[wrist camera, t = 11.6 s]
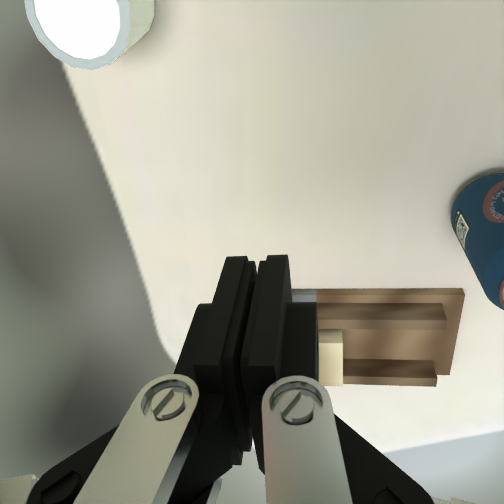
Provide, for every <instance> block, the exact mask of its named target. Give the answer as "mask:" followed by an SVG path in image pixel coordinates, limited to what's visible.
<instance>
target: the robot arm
mask: <svg viewBox="0 0 504 504" xmlns="http://www.w3.org/2000/svg"><path fill="white" fill-rule="evenodd" d="M252 439H253V440H254V445H255V450H256V454H257V460H258V465H259V469H260V470H261V471H262V472H263V474H264V475H265V482H266V502H267V504H475V503H471V502H468V501H464V500H460V499H457V498H453V497H451V499H450V502H448V501H445V500H441V499H437V498H434V497H431V496H430V495H429V494H428V493H427V492H426V491H425V490H424V489H423V488H422V487H421V486H420V485H419V484H418V483H417V482H415V481H414V480H413V479H412V478H411V477H409V476H408V475H407V474H406V473H405V472H403V471H402V470H401V469H400V468H399V467H397V466H396V465H395V464H394V463H393V462H391V461H390V460H389V459H388V458H387V457H385V456H384V455H383V454H382V453H381V452H379V451H378V450H377V449H376V448H375V447H373V446H372V445H371V444H370V443H369V442H367V441H366V440H365V439H364V438H363V437H361V436H360V435H359V434H358V433H357V432H355V431H354V430H353V429H352V428H351V427H349V426H348V425H347V424H346V423H345V422H343V421H342V420H341V419H340V418H339V417H337V416H336V415H335V414H334V413H333V408H332V404H331V399H330V396H329V394H328V392H327V390H326V389H325V388H324V386H323V385H322V384H321V383H319V334H318V314H317V302H293V301H292V291H291V280H290V270H289V260H288V255H268V256H267V259H266V261H260V262H259V267H258V272H257V271H256V264H255V261H248V258H247V256H233V257H226V260H225V263H224V266H223V269H222V272H221V276H220V279H219V282H218V285H217V288H216V292H215V295H214V298H213V301H212V303H207V304H199V305H198V307H197V309H196V311H195V314H194V317H193V320H192V323H191V325H190V328H189V331H188V334H187V337H186V340H185V343H184V345H183V348H182V351H181V354H180V357H179V360H178V362H177V365H176V369H175V371H174V374H169V375H166V376H161V377H159V378H157V379H155V380H152V381H151V382H150V383H148V384H147V385H146V386H144V387H143V389H142V390H141V391H140V392H139V394H138V395H137V397H136V398H135V400H134V402H133V403H132V405H131V407H130V409H129V410H128V412H127V413H126V415H125V417H124V418H123V420H122V422H121V423H120V425H118V426H117V427H115V428H113V429H112V430H110V431H109V432H107V433H106V434H104V435H103V436H101V437H99V438H98V439H96V440H95V441H93V442H91V443H90V444H88V445H87V446H85V447H84V448H82V449H81V450H79V451H77V452H76V453H74V454H73V455H71V456H70V457H68V458H66V459H65V460H64V461H62V462H60V463H59V464H57V465H55V466H54V467H52V468H51V469H50V470H49V471H47V472H46V473H45V474H43V475H42V477H41V478H36V477H35V475H34V474H31V475H26V476H21V477H15V478H9V479H4V480H0V504H216V500H217V498H218V494H219V491H220V489H221V484H222V475H223V474H224V473H226V472H227V471H228V470H229V469H231V468H232V465H241V464H242V457H243V451H247V452H250V450H251V446H252Z"/></svg>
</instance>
